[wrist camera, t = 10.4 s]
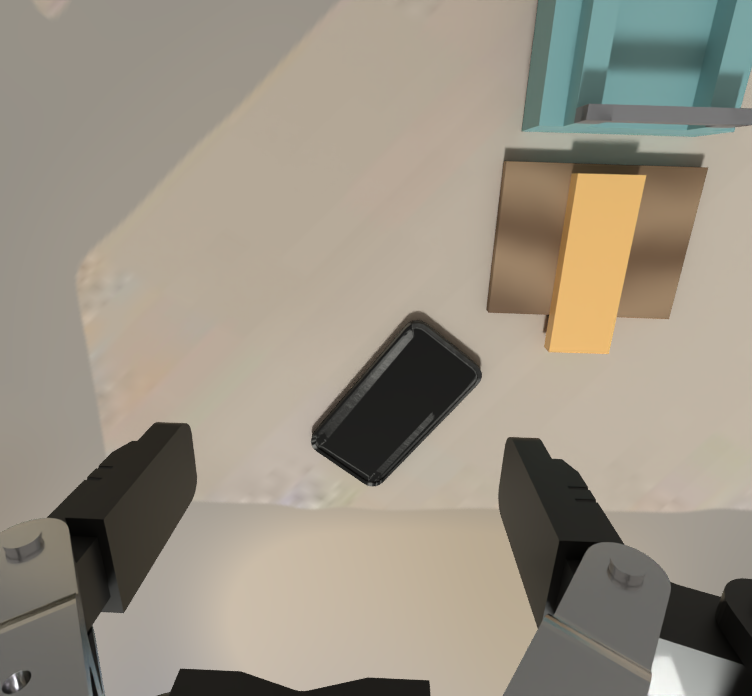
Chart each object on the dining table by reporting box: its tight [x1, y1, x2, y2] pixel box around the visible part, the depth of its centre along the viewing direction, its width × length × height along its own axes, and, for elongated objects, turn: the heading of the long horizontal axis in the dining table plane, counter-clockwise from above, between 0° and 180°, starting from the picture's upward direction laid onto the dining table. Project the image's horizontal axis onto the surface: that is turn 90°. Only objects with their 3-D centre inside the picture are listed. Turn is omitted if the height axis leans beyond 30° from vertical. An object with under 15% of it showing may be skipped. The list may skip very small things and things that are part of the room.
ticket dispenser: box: [522, 0, 752, 137], centre depth 27 cm, size 10×12×8 cm
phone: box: [311, 320, 482, 486], centre depth 40 cm, size 8×1×15 cm
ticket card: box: [544, 173, 646, 354], centre depth 34 cm, size 13×5×1 cm, turn 179°
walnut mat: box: [487, 161, 708, 319], centre depth 35 cm, size 11×14×1 cm
